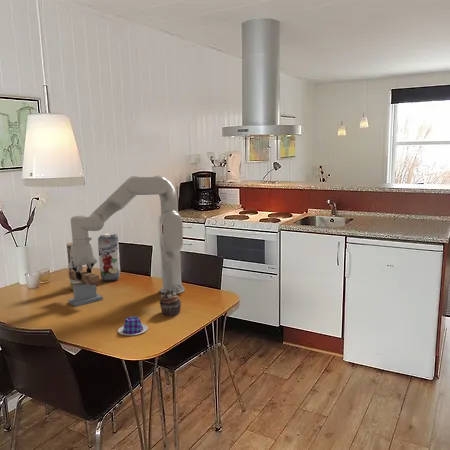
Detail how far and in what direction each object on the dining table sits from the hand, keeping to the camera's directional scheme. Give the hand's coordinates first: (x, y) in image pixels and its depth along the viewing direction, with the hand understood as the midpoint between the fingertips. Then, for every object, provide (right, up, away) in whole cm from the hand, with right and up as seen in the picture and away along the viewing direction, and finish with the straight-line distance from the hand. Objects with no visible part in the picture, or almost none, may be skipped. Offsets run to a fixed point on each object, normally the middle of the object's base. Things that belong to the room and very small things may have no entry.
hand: (84, 277), depth 210 cm
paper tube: (-10, -9, +22) cm, 26 cm away
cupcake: (+44, -14, -16) cm, 49 cm away
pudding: (+31, -18, -34) cm, 50 cm away
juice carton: (+3, -6, +37) cm, 38 cm away
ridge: (0, -12, +2) cm, 12 cm away
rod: (0, -2, 0) cm, 2 cm away
